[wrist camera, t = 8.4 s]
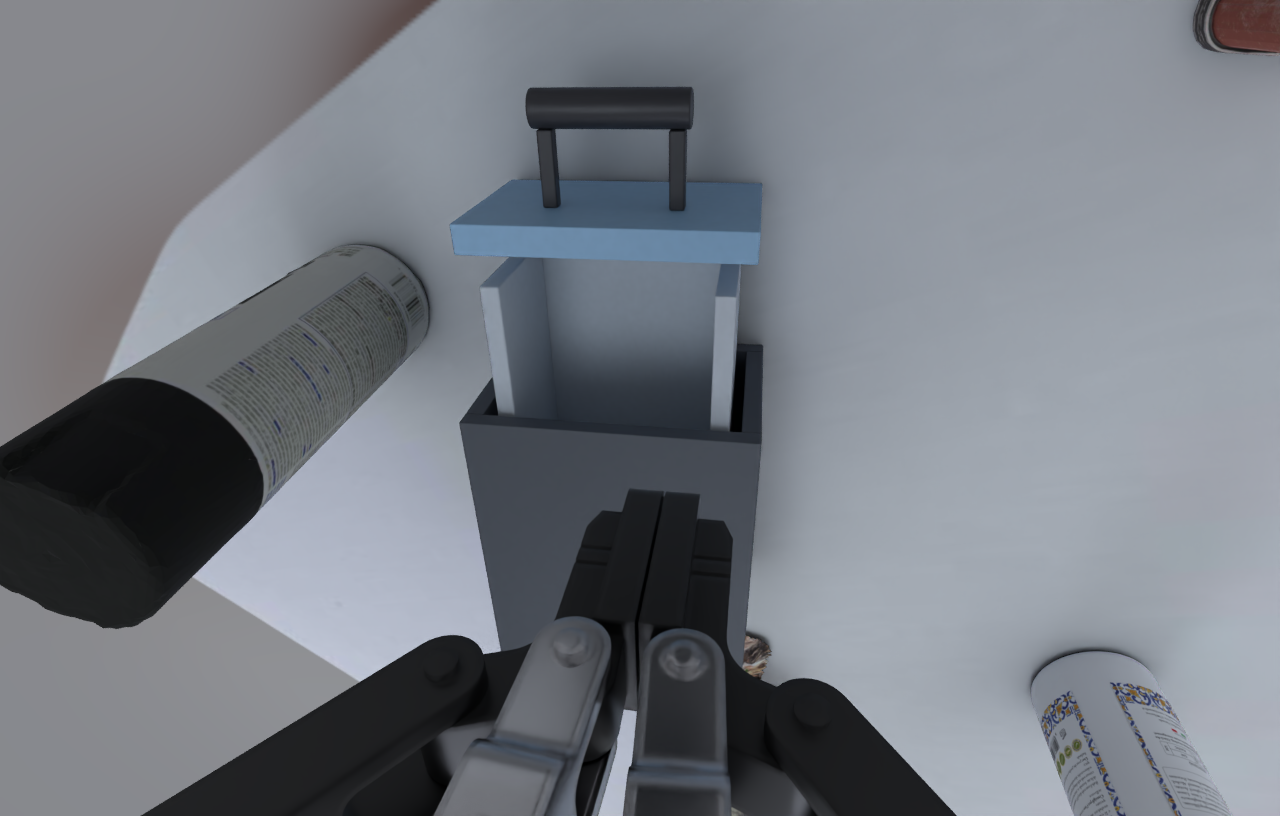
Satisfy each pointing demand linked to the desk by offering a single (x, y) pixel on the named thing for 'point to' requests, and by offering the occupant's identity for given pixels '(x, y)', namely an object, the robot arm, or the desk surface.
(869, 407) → the desk surface
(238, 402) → the spray can
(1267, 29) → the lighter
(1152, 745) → the bath foam
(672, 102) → the blue drawer
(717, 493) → the dark grey open box
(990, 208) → the desk surface
